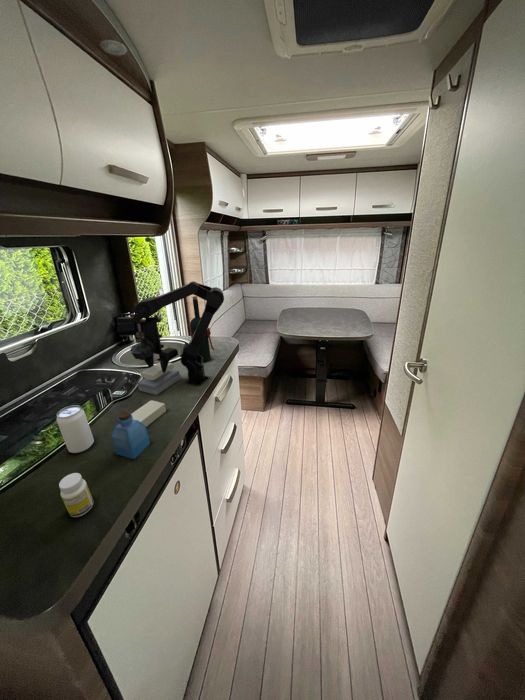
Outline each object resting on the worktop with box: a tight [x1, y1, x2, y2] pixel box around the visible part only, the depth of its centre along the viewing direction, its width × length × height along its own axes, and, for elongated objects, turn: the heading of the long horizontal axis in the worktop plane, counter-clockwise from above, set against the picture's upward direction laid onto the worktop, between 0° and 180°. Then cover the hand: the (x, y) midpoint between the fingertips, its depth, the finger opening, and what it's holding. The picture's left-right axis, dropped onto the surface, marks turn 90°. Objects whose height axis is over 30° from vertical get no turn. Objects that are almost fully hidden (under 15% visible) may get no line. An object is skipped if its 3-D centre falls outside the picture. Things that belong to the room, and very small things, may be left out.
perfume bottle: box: [110, 409, 151, 460], centre depth 76 cm, size 6×6×12 cm
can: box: [56, 404, 95, 454], centre depth 77 cm, size 6×6×12 cm
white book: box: [140, 361, 175, 380], centre depth 109 cm, size 11×6×2 cm, turn 156°
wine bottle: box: [189, 295, 215, 364], centre depth 126 cm, size 8×10×30 cm
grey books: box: [137, 368, 182, 396], centre depth 110 cm, size 14×9×4 cm, turn 156°
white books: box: [131, 399, 167, 428], centre depth 90 cm, size 11×6×3 cm, turn 156°
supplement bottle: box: [58, 472, 94, 518], centre depth 60 cm, size 5×5×8 cm
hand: (158, 371), depth 109 cm, fingers closed on white book, 6 cm apart
